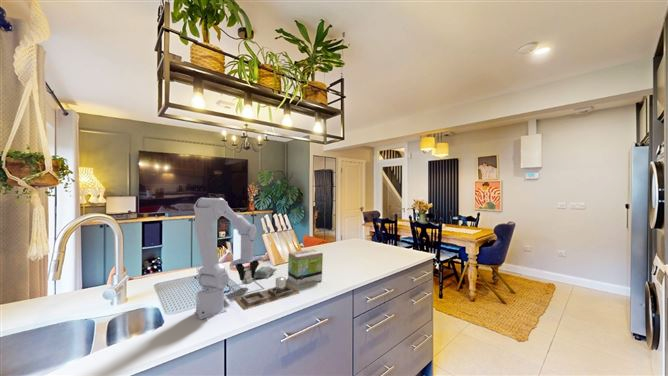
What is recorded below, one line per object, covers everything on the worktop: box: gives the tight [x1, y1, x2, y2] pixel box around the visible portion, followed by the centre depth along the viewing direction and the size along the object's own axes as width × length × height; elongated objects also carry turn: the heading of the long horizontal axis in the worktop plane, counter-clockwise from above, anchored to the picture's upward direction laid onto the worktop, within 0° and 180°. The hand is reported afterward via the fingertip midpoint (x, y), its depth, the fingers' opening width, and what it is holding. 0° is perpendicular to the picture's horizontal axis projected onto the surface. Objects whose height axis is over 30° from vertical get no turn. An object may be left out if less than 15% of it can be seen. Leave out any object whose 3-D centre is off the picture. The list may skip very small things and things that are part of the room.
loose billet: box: [241, 267, 253, 285], centre depth 118 cm, size 4×4×6 cm
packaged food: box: [253, 265, 278, 280], centre depth 136 cm, size 9×12×5 cm
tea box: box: [287, 248, 324, 285], centre depth 130 cm, size 15×10×15 cm, turn 129°
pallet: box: [233, 284, 300, 311], centre depth 109 cm, size 25×12×3 cm, turn 129°
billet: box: [275, 276, 287, 294], centre depth 113 cm, size 4×4×6 cm
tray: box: [229, 280, 265, 296], centre depth 118 cm, size 12×12×2 cm
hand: (246, 278), depth 117 cm, fingers closed on loose billet, 4 cm apart
